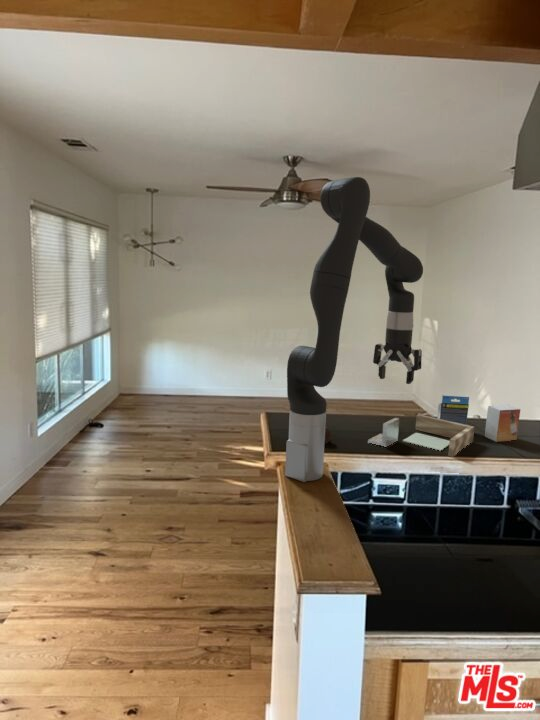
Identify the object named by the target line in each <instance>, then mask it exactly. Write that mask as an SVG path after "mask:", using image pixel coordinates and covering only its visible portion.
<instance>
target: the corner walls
mask: <svg viewBox="0 0 540 720" xmlns="http://www.w3.org/2000/svg"><path fill="white" fill-rule="evenodd" d="M415 417H416V419H415V420H416V421H415V428H414V429H415V431H421V432H425V433H428V434H433V435H436V436H437V435H438V436H441V437H445V438H449V441H450V442H449V446H448V452H447V453H448V454H447V456H448V457H451V458H454V457H455V456H457V455H458V454H459V453H460V452H461V450H462V449H463V448H464V449H466V448H467V447H468V446H469V445H471V444H472V443H473V442H474V434H475V426H473V425H470V424H466V425H465V424H460V423H456V422H451V421H447V420H442V419H438V418H437V417H434V416H428V415H423V414H419V413H418V414H417V415H416V416H415ZM470 443H471V444H470ZM467 445H468V446H467ZM466 446H467V447H466ZM464 449H463V450H464ZM463 450H462V451H463ZM459 451H460V452H459ZM458 452H459V453H458ZM457 453H458V454H457Z"/></svg>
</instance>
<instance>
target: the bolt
mask: <svg viewBox="0 0 540 720" xmlns="http://www.w3.org/2000/svg"><path fill="white" fill-rule="evenodd" d="M332 436H333V435H332V433H331V431H330V429H329V428H328V426H325V443H326V444H328V443H329V442H330V441H331V439H332Z"/></svg>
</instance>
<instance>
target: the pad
mask: <svg viewBox="0 0 540 720" xmlns="http://www.w3.org/2000/svg"><path fill="white" fill-rule="evenodd" d="M402 442H403V443H407V444H410V443H411V445H414V444H415V446H418V445H419V447H422V446H423V447H422V448H426V447H427V448H426V449H430V448H432V449H431V450H433V449H435V450H434V451H437V450H439V451H438V452H441V450H442V451H444V448H445V449H446V448H447V447H449V442H450V439H449V440H448V439H443V438H439V437H435V436H432V435H428V434H423V433H420V432H414V433H412V434H411V435H409V436H408V437H406V438H404V439H402Z"/></svg>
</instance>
